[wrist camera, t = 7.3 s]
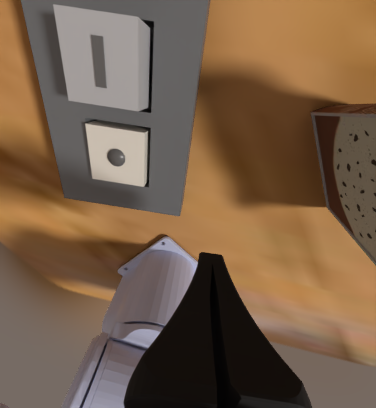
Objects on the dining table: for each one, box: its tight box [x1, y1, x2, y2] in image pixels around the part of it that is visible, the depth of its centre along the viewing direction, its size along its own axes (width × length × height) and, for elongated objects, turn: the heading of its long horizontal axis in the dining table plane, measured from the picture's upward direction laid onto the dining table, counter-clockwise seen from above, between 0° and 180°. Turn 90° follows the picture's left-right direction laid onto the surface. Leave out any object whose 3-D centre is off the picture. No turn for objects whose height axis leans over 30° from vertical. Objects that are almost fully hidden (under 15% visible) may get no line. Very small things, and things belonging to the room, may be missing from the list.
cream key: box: [85, 120, 151, 187], centre depth 17 cm, size 4×4×2 cm
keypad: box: [21, 0, 210, 216], centre depth 14 cm, size 22×11×2 cm, turn 173°
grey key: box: [53, 4, 150, 111], centre depth 12 cm, size 4×4×2 cm
